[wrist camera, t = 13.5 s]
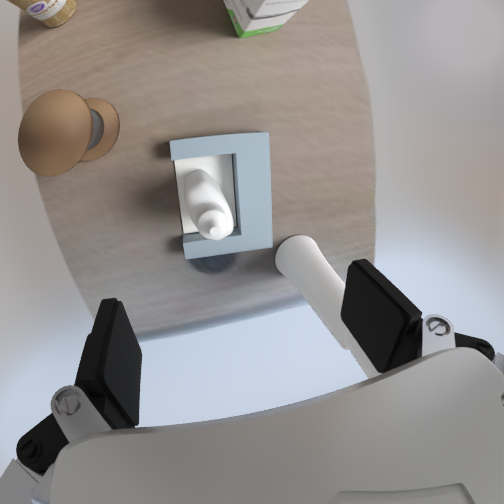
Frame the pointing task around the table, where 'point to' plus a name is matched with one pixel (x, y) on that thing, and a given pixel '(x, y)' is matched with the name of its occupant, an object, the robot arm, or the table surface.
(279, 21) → the ink box
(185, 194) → the eye dropper bottle
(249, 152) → the notched board
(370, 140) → the table surface
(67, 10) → the sprinkles bottle
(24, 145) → the spool
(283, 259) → the cosmetic bottle
